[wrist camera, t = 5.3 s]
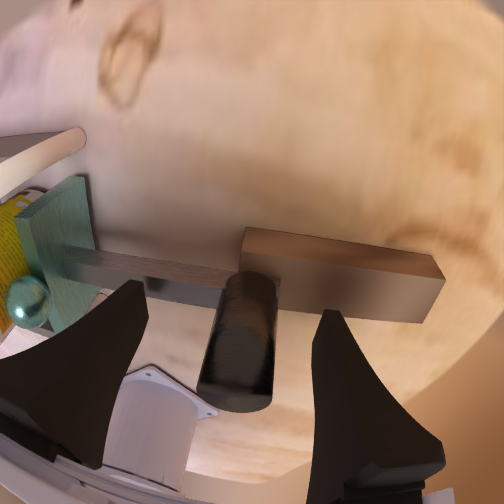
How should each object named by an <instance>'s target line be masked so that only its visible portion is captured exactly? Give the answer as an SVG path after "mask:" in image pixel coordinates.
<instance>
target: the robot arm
mask: <svg viewBox="0 0 504 504" xmlns="http://www.w3.org/2000/svg"><path fill="white" fill-rule="evenodd" d="M148 319H149V315H148V309H147V303H146V297H145V290H144V283H143V281H137V280H132V279H129V280H128V281H127V282H126V283H124V284H123V285H122V286H121V287H119V288H118V289H117V290H116V291H114V292H113V293H112V294H111V295H110V296H108V297H107V298H106V299H105V300H104V301H102V302H101V303H100V304H99V305H97V306H96V307H95V308H94V309H92V310H91V311H90V312H88V313H87V314H86V315H84V316H83V317H82V318H80V319H79V320H78V321H76V322H75V323H73V324H72V325H70V326H69V327H67V328H66V329H64V330H63V331H61V332H59V333H58V334H56V335H54V336H53V337H51V338H49V339H47V340H45V341H43V342H41V343H39V344H38V345H36V346H34V347H31V348H29V349H27V350H25V351H22V352H20V353H17V354H15V355H12V356H9V357H6V358H3V359H0V484H1V485H2V486H4V487H5V488H6V489H8V490H9V491H10V492H12V493H13V494H14V495H16V496H17V497H19V498H20V499H22V500H23V501H25V502H26V503H27V504H214V503H208V502H203V501H197V500H192V499H188V498H185V496H186V495H185V494H182V493H180V491H181V486H182V482H183V477H184V473H185V468H186V464H187V459H188V455H189V450H190V446H191V442H192V437H193V433H194V429H195V424H196V420H198V419H203V418H207V417H212V416H216V415H219V409H217V408H215V407H213V406H211V405H209V404H208V403H206V402H205V401H203V400H202V399H201V398H200V397H198V396H197V395H195V394H194V393H192V392H191V391H189V390H188V389H186V388H185V387H183V386H182V385H180V384H179V383H177V382H176V381H174V380H173V379H171V378H170V377H168V376H167V375H166V374H164V373H163V372H161V371H160V370H159V369H157V368H156V367H153V366H148V367H146V368H143V369H141V370H139V371H136V372H134V373H131V374H129V375H127V376H125V374H126V372H127V370H128V368H129V365H130V363H131V361H132V359H133V357H134V355H135V353H136V350H137V348H138V346H139V344H140V342H141V340H142V337H143V334H144V331H145V328H146V325H147V322H148ZM311 368H312V381H313V394H314V408H315V431H314V446H313V458H312V467H311V475H310V482H309V489H308V495H307V500H306V504H455V500H454V492H453V488H448V489H444V490H440V491H436V492H432V493H429V494H425V495H423V496H422V491H421V490H422V489H424V488H425V481H424V480H425V479H427V478H429V477H430V476H432V475H434V474H436V473H437V472H439V471H440V470H442V469H443V468H444V467H445V465H446V460H445V454H444V449H443V446H442V442H441V441H440V440H438V439H437V438H436V437H435V436H433V435H432V434H431V433H429V432H428V431H427V430H426V429H425V428H423V427H422V426H421V425H420V424H419V423H418V422H417V421H416V420H415V419H414V418H412V416H411V415H409V413H407V412H406V410H405V409H404V408H403V407H402V406H401V405H400V404H399V403H398V402H397V401H396V399H395V398H394V397H393V396H392V395H391V394H390V392H389V391H388V390H387V389H386V387H385V386H384V385H383V383H382V382H381V381H380V379H379V378H378V376H377V375H376V373H375V372H374V370H373V369H372V367H371V366H370V364H369V363H368V361H367V359H366V358H365V356H364V354H363V353H362V351H361V349H360V348H359V346H358V344H357V342H356V340H355V339H354V337H353V335H352V333H351V331H350V329H349V327H348V326H347V324H346V322H345V320H344V318H343V316H342V314H341V312H340V311H339V310H330V309H324V312H323V314H322V317H321V320H320V323H319V326H318V328H317V331H316V334H315V336H314V339H313V342H312V360H311Z"/></svg>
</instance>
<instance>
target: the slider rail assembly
mask: <svg viewBox="0 0 504 504" xmlns="http://www.w3.org/2000/svg"><path fill="white" fill-rule="evenodd" d="M14 221H15V225H16V229H17V232H18V236H19V239H20V243H21V246H22V249H23V252H24V256H25V259H26V262H27V265H28V268H29V270H30V273H31V275H21V276H18V277H16V278H15V279H13V280H12V281H11V282H10V283H9V285H8V287H7V288H6V291H5V295H4V306H5V310H6V313H7V315H8V317H9V318H10V319H11V321H12V322H13V323H14V324H16V325H17V326H19V327H21V328H24V329H35V328H38V327H40V326H42V325H43V324H44V323H45V322H46V321H47V319H49V321H50V323H51V325H52V328H53V330H54V332H55V333H56V334H58V333H59V332H61V331H63V330H64V329H66V328H67V327H69V326H70V325H72V324H73V323H75V322H76V321H78V320H79V319H80V318H82V317H83V315H84V314H85V312H86V311H87V309H88V308H89V306H90V304H91V303H92V301H93V300H94V298H95V297H96V295H97V294H98V292H99V291H100V290H101V288H102V287H103V288H107V289H112V290H117V289H118V288H119V287H121V286H122V285H123V284H124V283H126V282H127V281H128V280H129V279H132V280H137V281H143V283H144V290H145V296H146V297H151V298H156V299H161V300H167V301H172V302H178V303H183V304H189V305H195V306H201V307H207V308H213V309H217V310H216V314H215V318H214V321H213V325H212V329H211V333H210V337H209V340H208V344H207V348H206V352H205V356H204V360H203V364H202V368H201V371H200V375H199V379H198V383H197V387H196V390H197V393H198V395H199V397H200V398H201V399H202V400H203V401H205V402H206V403H208V404H209V405H211V406H213V407H215V408H218V409H221V410H225V411H229V412H236V413H249V412H255V411H259V410H262V409H264V408H266V407H267V406H269V404H270V403H271V401H272V394H273V380H274V366H275V350H276V333H277V316H278V304H279V299H280V287H281V278H275V277H268V276H265V275H263V274H260V273H257V272H251V271H245V272H233V271H226V270H219V269H213V268H206V267H199V266H193V265H186V264H180V263H174V262H167V261H161V260H155V259H149V258H142V257H136V256H130V255H124V254H118V253H112V252H106V251H101V250H95V245H94V239H93V234H92V228H91V222H90V216H89V209H88V203H87V195H86V188H85V179H84V177H73V176H69V177H68V178H66V179H65V180H63V181H62V182H60V183H59V184H57V185H56V186H55V187H53V188H52V189H50V190H49V191H47V192H46V193H45V194H43V195H42V196H41V197H39V198H38V199H36V200H35V201H34V202H32V203H31V204H30V205H28V206H27V207H26V208H25V209H23V210H22V211H21V212H19V213H18V214H17V215H16V216H14Z"/></svg>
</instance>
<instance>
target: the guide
mask: <svg viewBox="0 0 504 504" xmlns="http://www.w3.org/2000/svg"><path fill="white" fill-rule="evenodd" d="M245 271H251V272H257V273H260V274H263V275H265V276H268V277H275V278H281V287H280V299H279V304H278V309H281V310H289V311H297V312H305V313H313V314H323V312H324V309H330V310H339V311H340V312H341V314H342V316H343V317H350V318H360V319H370V320H381V321H393V322H406V323H420V324H422V323H423V321H424V319H425V318H426V316H427V314H428V313H429V311H430V309H431V307H432V306H433V304H434V302H435V300H436V298H437V297H438V295H439V293H440V291H441V289H442V287H443V285H444V284H445V282H446V279H445V277H444V275H443V274H442V272H441V270H440V269H439V267H438V265H437V264H436V262H435V260H434V259H433V257H432V256H428V255H423V254H417V253H411V252H405V251H399V250H394V249H388V248H381V247H375V246H369V245H363V244H357V243H351V242H344V241H338V240H331V239H325V238H318V237H312V236H305V235H299V234H292V233H285V232H278V231H271V230H264V229H257V228H250V227H246V231H245V235H244V240H243V244H242V248H241V254H240V264H239V272H245Z"/></svg>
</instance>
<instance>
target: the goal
mask: <svg viewBox="0 0 504 504" xmlns="http://www.w3.org/2000/svg"><path fill="white" fill-rule="evenodd" d="M85 142H86V136H85V133H84V131H83V130H82V129H81V128H78V127H75V128H72V129H70V130H67V131H65V132H50V133H37V134H26V135H17V136H8V137H0V198H1V197H3V196H4V195H6V194H7V193H9V192H10V191H11V190H13V189H14V188H16V187H17V186H19V185H20V184H22V183H23V182H25V181H27V180H28V179H30V178H31V177H33V176H34V175H36V174H38V173H39V172H41V171H43V170H44V169H46V168H48V167H49V166H51V165H53V164H54V163H56V162H58V161H60V160H61V159H63V158H65V157H67V156H69V155H70V154H72V153H74V152H76V151H78V150H80V149H81V148H83V147H84V145H85ZM106 298H107V296H106V295H104V294H98V295H96V297H95V298H94V300H93V301H92V303H91V304H90V306H89V308H88V309H87V311H86V312H85V314H84V315H86V314H87V313H88V312H90V311H91V310H92V309H94V308H95V307H96V306H97V305H99V304H100V303H101V302H102V301H104V300H105V299H106ZM84 315H83V316H84ZM28 330H30V331H33V332H35V333H38V334H40V335H43V336H46V337H48V338H51V337H53V336H54V335H56V333H55V332H54V330H53V328H52V325H51V323H50V321H49V319H47V321H46V322H45V323H44V324H43V325H42V326H40V327H38V328H35V329H28Z"/></svg>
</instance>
